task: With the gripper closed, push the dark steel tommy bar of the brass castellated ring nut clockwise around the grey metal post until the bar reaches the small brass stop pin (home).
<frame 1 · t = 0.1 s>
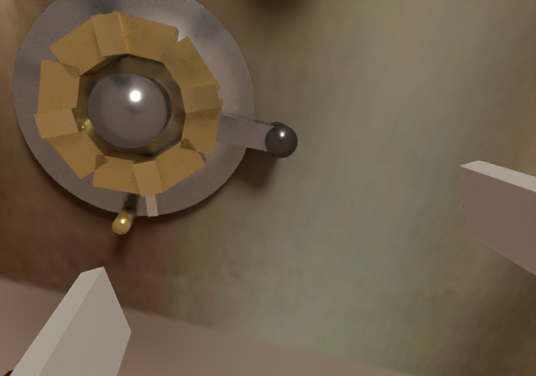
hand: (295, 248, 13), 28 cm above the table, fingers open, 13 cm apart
cap base: (143, 105, 38), on the table
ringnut: (177, 118, 34), point 4 cm above the table, hinge at 75.0°
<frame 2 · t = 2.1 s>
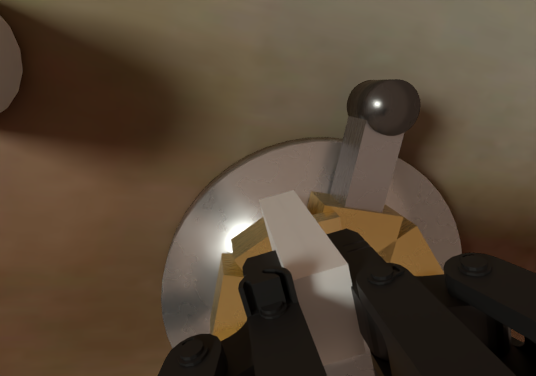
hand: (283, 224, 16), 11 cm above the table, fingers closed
cap base: (312, 280, 29), on the table
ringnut: (344, 262, 24), point 4 cm above the table, hinge at 75.0°
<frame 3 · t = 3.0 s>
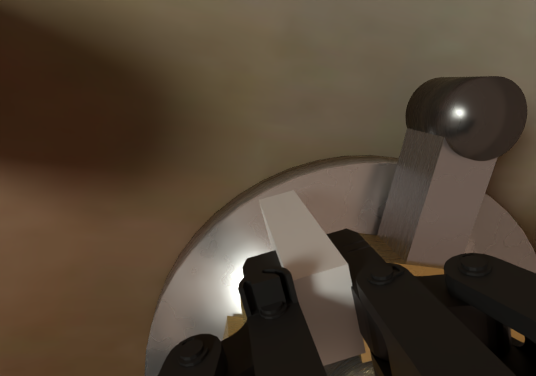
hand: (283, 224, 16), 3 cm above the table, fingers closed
cap base: (345, 340, 22), on the table
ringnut: (399, 333, 17), point 4 cm above the table, hinge at 75.0°
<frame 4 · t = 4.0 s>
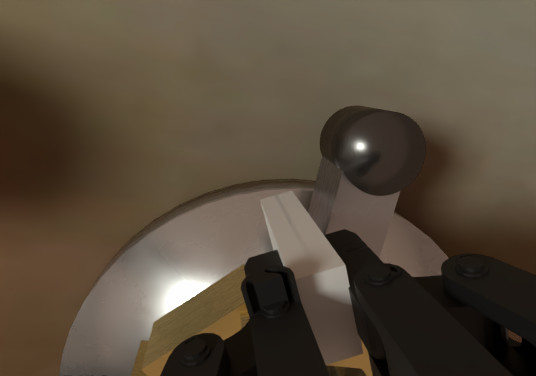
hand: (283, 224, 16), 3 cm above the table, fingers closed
cap base: (276, 363, 22), on the table
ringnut: (310, 364, 17), point 4 cm above the table, hinge at 73.7°, touching gripper
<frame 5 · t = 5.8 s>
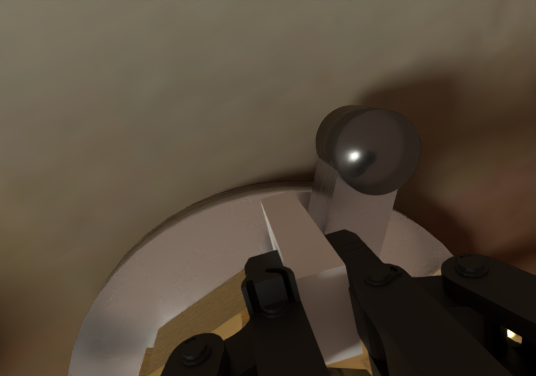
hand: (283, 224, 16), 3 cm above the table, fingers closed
cap base: (284, 365, 22), on the table
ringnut: (315, 366, 16), point 4 cm above the table, hinge at 40.1°, touching gripper
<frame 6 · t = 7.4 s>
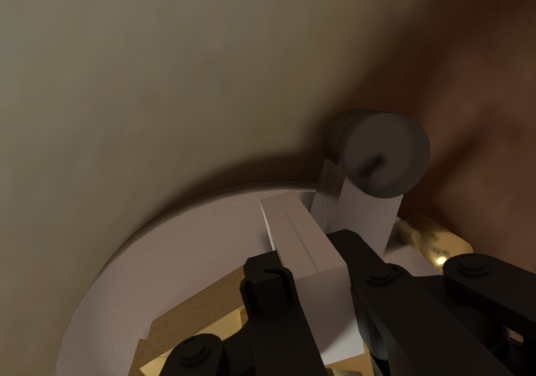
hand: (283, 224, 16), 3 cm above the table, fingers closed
cap base: (274, 365, 22), on the table
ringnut: (309, 366, 16), point 4 cm above the table, hinge at 9.3°, touching gripper
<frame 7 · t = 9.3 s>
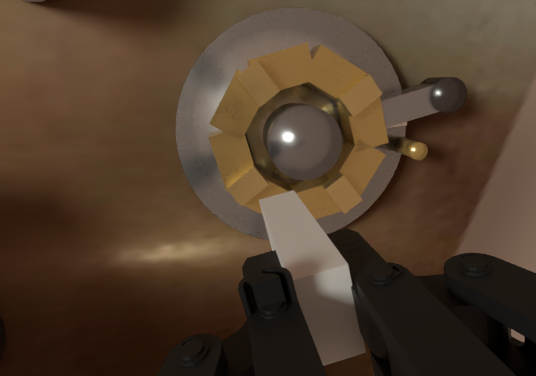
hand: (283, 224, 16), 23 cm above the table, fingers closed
cap base: (290, 131, 37), on the table
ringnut: (339, 126, 33), point 4 cm above the table, hinge at 9.3°
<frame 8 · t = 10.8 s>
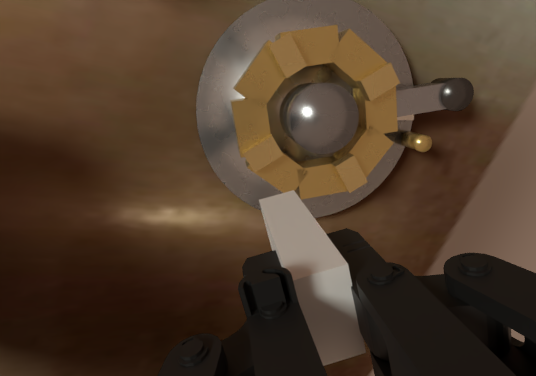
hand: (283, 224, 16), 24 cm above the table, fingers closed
cap base: (304, 112, 39), on the table
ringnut: (354, 110, 35), point 4 cm above the table, hinge at 9.3°
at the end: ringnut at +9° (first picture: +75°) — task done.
